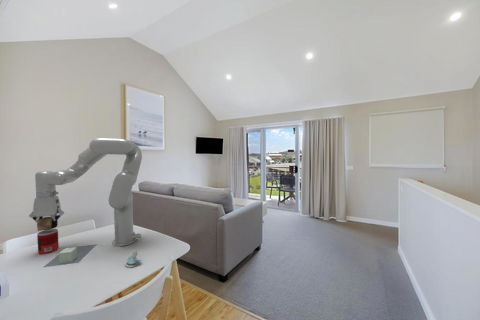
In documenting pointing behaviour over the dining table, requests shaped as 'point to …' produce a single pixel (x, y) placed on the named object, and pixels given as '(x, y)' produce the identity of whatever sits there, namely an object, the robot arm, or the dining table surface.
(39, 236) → the canned food
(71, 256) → the sage block
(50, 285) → the dining table surface
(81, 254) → the mat
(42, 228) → the walnut block
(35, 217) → the robot arm
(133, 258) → the pacifier
